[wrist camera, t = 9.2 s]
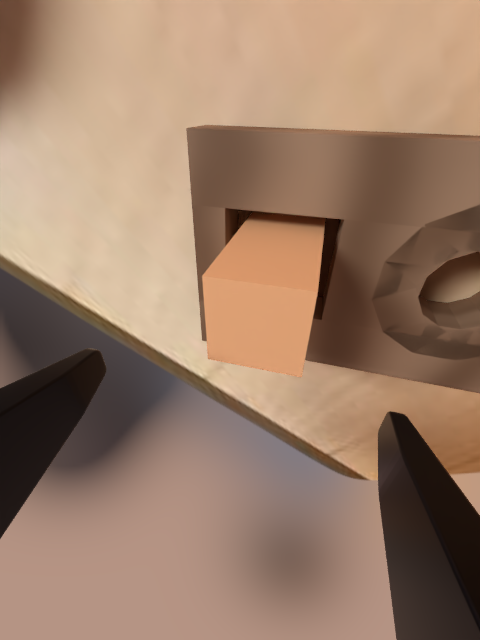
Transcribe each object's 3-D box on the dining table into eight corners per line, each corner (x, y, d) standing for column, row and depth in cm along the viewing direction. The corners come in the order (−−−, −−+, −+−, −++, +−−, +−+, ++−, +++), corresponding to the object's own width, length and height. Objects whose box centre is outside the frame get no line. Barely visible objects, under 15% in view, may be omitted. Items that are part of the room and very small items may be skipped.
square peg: (325, 218, 16) (317, 291, 10) (313, 283, 18) (301, 377, 12) (252, 211, 17) (202, 275, 10) (250, 275, 19) (208, 358, 13)
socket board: (653, 142, 11) (720, 150, 9) (489, 367, 18) (508, 398, 16) (206, 125, 15) (186, 128, 13) (214, 319, 22) (202, 340, 20)
